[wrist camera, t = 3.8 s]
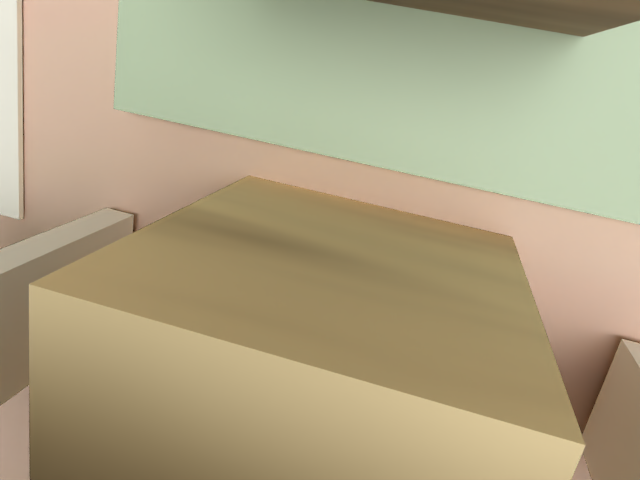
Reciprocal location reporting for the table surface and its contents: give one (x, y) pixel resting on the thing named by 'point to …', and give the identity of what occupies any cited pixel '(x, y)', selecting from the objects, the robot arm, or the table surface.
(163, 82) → the build pad
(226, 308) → the oak block
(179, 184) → the table surface
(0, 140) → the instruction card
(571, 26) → the base block
